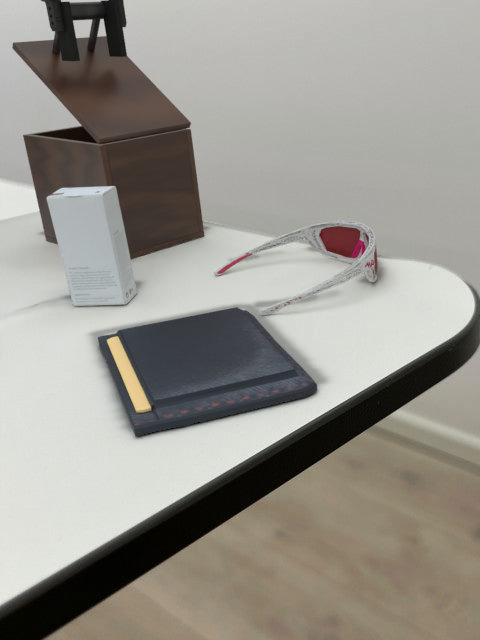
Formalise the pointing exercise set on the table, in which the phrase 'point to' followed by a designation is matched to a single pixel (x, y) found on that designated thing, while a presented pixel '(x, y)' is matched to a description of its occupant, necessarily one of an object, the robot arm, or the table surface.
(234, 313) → the wallet
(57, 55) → the lid
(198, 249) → the table surface
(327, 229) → the sunglasses
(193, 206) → the chest
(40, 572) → the table surface
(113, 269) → the cosmetic box
